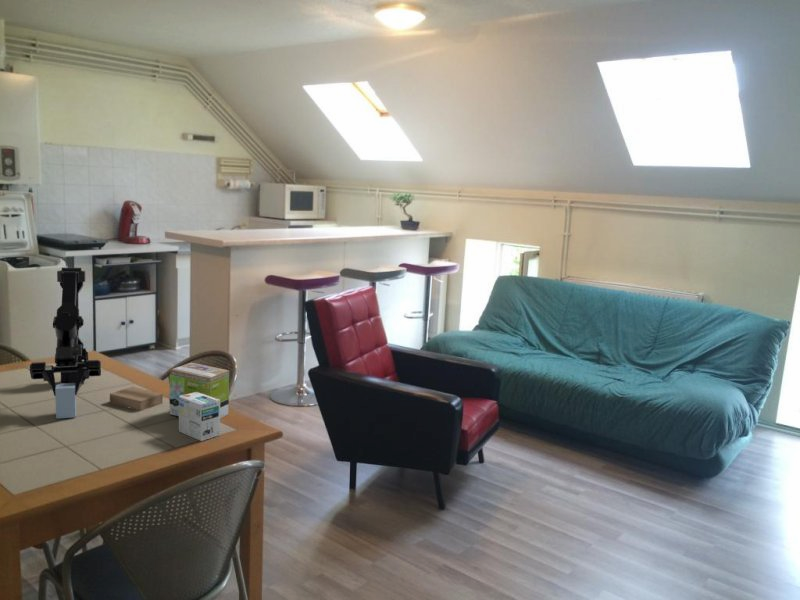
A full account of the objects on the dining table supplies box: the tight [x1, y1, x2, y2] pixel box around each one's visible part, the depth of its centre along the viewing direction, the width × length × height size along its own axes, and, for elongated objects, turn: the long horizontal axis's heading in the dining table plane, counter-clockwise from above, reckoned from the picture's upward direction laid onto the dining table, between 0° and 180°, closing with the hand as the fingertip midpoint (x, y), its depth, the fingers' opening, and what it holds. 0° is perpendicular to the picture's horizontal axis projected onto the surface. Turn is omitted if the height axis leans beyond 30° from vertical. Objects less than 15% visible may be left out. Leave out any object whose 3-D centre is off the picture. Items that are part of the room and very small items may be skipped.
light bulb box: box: [178, 392, 221, 442], centre depth 187 cm, size 11×7×11 cm, turn 54°
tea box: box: [168, 361, 230, 419], centre depth 201 cm, size 15×10×15 cm, turn 68°
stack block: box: [109, 386, 164, 412], centre depth 209 cm, size 9×13×4 cm
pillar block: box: [55, 382, 77, 419], centre depth 194 cm, size 5×5×9 cm
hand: (65, 394), depth 192 cm, fingers closed on pillar block, 5 cm apart
